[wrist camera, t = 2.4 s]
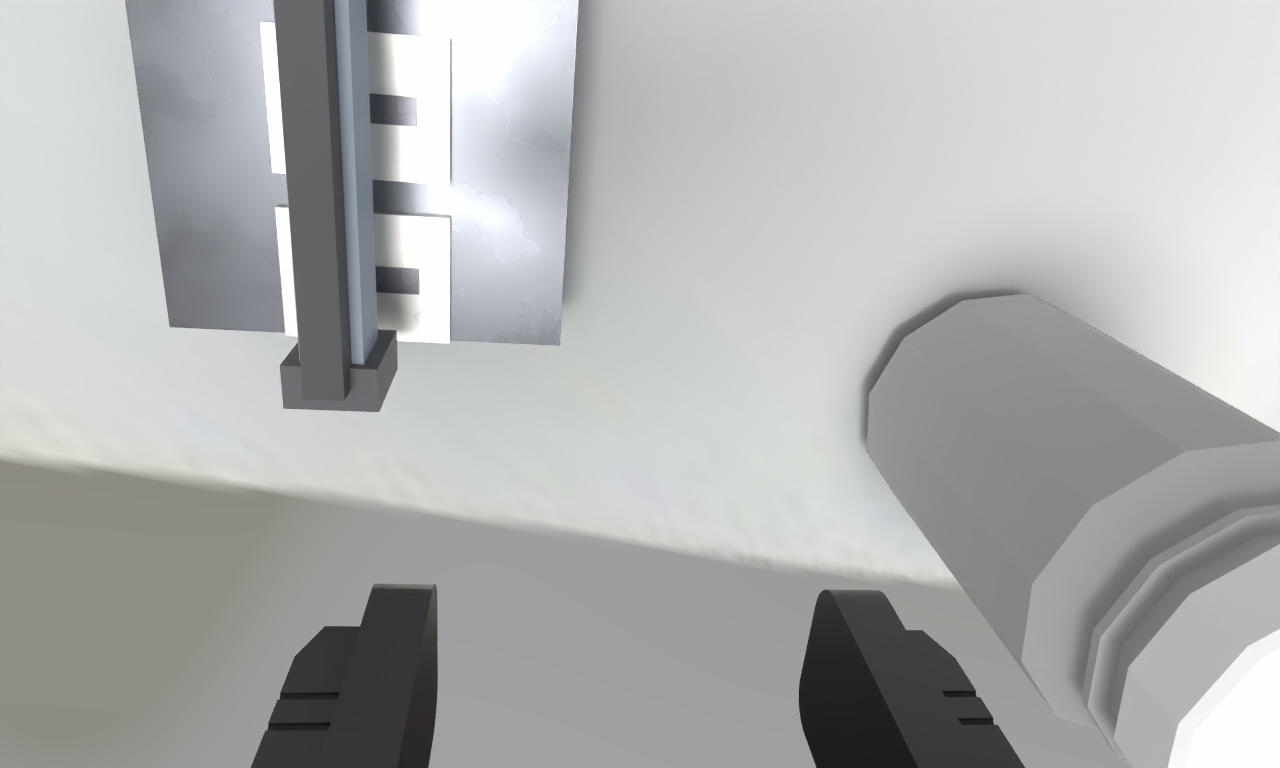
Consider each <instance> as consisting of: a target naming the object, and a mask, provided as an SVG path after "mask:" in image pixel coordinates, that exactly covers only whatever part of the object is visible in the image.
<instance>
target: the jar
mask: <svg viewBox="0 0 1280 768" xmlns="http://www.w3.org/2000/svg"><path fill="white" fill-rule="evenodd" d="M867 453H868V454H869V456H870V457H871V459H872V460H873V462H874V463H875V465H876V466H877V468H878V470H879V471H880V473H881V474H882V476H883V477H884V479H885V480H886V482H887V484H888V485H889V487H890V488H891V490H892V491H893V493H894V494H895V496H896V497H897V499H898V500H899V501H900V503H901V504H902V505H903V507H904V508H905V509H906V511H907V512H908V514H909V515H910V516H911V518H912V519H913V520H914V522H915V523H916V525H917V526H918V527H919V529H920V530H921V531H922V533H923V534H924V536H925V537H926V538H927V540H928V541H929V542H930V544H931V545H932V547H933V548H934V549H935V551H936V552H937V553H938V555H939V556H940V558H941V559H942V560H943V562H944V563H945V564H946V566H947V567H948V569H949V570H950V571H951V573H952V574H953V575H954V577H955V578H956V579H957V581H958V582H959V584H960V585H961V586H962V588H963V589H964V590H965V592H966V593H967V595H968V596H969V597H970V599H971V600H972V601H973V603H974V604H975V606H976V607H977V608H978V610H979V611H980V612H981V613H982V615H983V617H984V618H985V619H986V621H987V622H988V623H989V625H990V626H991V627H992V629H993V630H994V632H995V633H996V634H997V636H998V637H999V638H1000V640H1001V641H1002V643H1003V644H1004V645H1005V647H1006V648H1007V649H1008V651H1009V652H1010V654H1011V655H1012V656H1013V658H1014V659H1015V660H1016V662H1017V663H1018V665H1019V666H1020V667H1021V669H1022V670H1023V671H1024V673H1025V674H1026V675H1027V677H1028V678H1029V679H1030V681H1031V682H1032V684H1033V685H1034V687H1035V688H1036V689H1037V691H1038V692H1039V693H1040V695H1041V696H1042V697H1043V699H1044V700H1045V701H1046V703H1047V704H1048V706H1049V707H1050V708H1051V710H1052V711H1053V712H1054V714H1055V715H1056V716H1057V717H1060V718H1063V719H1066V720H1069V721H1072V722H1075V723H1078V724H1081V725H1084V726H1086V727H1089V728H1092V729H1095V730H1098V731H1101V733H1102V734H1103V736H1104V738H1105V739H1106V741H1107V743H1108V744H1109V746H1110V747H1111V749H1112V750H1113V752H1114V753H1115V754H1116V756H1117V757H1119V758H1122V759H1125V760H1127V762H1128V763H1129V765H1130V767H1131V768H1280V433H1279V432H1277V431H1275V430H1274V429H1272V428H1270V427H1268V426H1266V425H1265V424H1263V423H1261V422H1259V421H1258V420H1256V419H1254V418H1252V417H1251V416H1249V415H1247V414H1245V413H1244V412H1242V411H1240V410H1238V409H1236V408H1235V407H1233V406H1231V405H1229V404H1228V403H1226V402H1224V401H1222V400H1221V399H1219V398H1217V397H1215V396H1213V395H1212V394H1210V393H1208V392H1206V391H1205V390H1203V389H1201V388H1199V387H1198V386H1196V385H1194V384H1192V383H1191V382H1189V381H1187V380H1185V379H1183V378H1182V377H1180V376H1178V375H1176V374H1175V373H1173V372H1171V371H1169V370H1168V369H1166V368H1164V367H1162V366H1161V365H1159V364H1157V363H1155V362H1153V361H1152V360H1150V359H1148V358H1146V357H1145V356H1143V355H1141V354H1139V353H1138V352H1136V351H1134V350H1132V349H1131V348H1129V347H1127V346H1125V345H1123V344H1122V343H1120V342H1118V341H1116V340H1115V339H1113V338H1111V337H1109V336H1108V335H1106V334H1104V333H1102V332H1101V331H1099V330H1097V329H1095V328H1093V327H1092V326H1090V325H1088V324H1086V323H1085V322H1083V321H1081V320H1079V319H1077V318H1075V317H1073V316H1071V315H1069V314H1067V313H1065V312H1063V311H1061V310H1060V309H1058V308H1056V307H1054V306H1052V305H1050V304H1048V303H1046V302H1044V301H1042V300H1040V299H1038V298H1036V297H1034V296H1032V295H1030V294H1028V293H1027V294H1018V295H1008V296H998V297H989V298H979V299H969V300H962V301H961V302H959V303H957V304H956V305H954V306H953V307H951V308H950V309H948V310H946V311H945V312H943V313H942V314H940V315H939V316H937V317H935V318H934V319H932V320H931V321H929V322H928V323H926V324H925V325H923V326H921V327H920V328H918V329H917V330H915V331H914V332H912V333H910V334H909V335H907V336H906V337H904V338H903V340H902V341H901V343H900V345H899V346H898V348H897V350H896V351H895V353H894V354H893V356H892V358H891V359H890V361H889V362H888V364H887V366H886V367H885V369H884V370H883V372H882V374H881V375H880V377H879V379H878V380H877V382H876V383H875V385H874V387H873V388H872V390H871V391H870V393H869V406H868V430H867Z"/></svg>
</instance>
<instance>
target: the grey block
mask: <svg viewBox="0 0 1280 768" xmlns="http://www.w3.org/2000/svg"><path fill="white" fill-rule="evenodd" d="M125 2H126V10H127V17H128V24H129V31H130V39H131V46H132V53H133V61H134V68H135V75H136V83H137V90H138V97H139V105H140V112H141V119H142V127H143V134H144V141H145V149H146V156H147V163H148V171H149V178H150V185H151V193H152V200H153V207H154V215H155V222H156V229H157V237H158V244H159V251H160V259H161V266H162V273H163V281H164V288H165V295H166V303H167V310H168V317H169V325H170V327H179V328H201V329H222V330H243V331H264V332H285V336H298V334H297V321H296V307H295V294H294V280H293V267H292V253H291V240H290V226H289V213H288V199H287V186H286V172H285V159H284V145H283V132H282V118H281V105H280V91H279V78H278V65H277V51H276V38H275V24H274V11H273V0H125ZM578 3H579V0H366V12H367V41H368V69H369V98H370V127H371V155H372V184H373V213H374V241H375V270H376V299H377V327H378V329H381V330H397V341H405V342H427V343H448V344H450V340H456V341H477V342H498V343H519V344H541V345H560V332H561V314H562V295H563V277H564V259H565V241H566V222H567V204H568V186H569V168H570V149H571V131H572V113H573V94H574V76H575V58H576V40H577V21H578Z"/></svg>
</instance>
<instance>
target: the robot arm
mask: <svg viewBox="0 0 1280 768" xmlns="http://www.w3.org/2000/svg"><path fill="white" fill-rule="evenodd" d="M437 662H438V661H437V589H436V585H435V584H374V586H373V588H372V590H371V593H370V596H369V600H368V603H367V606H366V610H365V613H364V616H363V620H362V623H361V626H360V627H343V626H327V627H326V626H325V627H324V628H323V629H322V630H321V631H320V632H319V633H318V634H317V635H316V636H315V637H314V638H313V639H312V640H311V641H310V642H309V643H308V644H307V645H306V646H305V647H304V648H303V649H302V650H301V651H300V652H299V653H298V654H297V655H296V656H295V657H294V660H293V662H292V665H291V667H290V670H289V672H288V675H287V677H286V680H285V682H284V685H283V688H282V690H281V694H280V700H277V703H276V705H275V708H274V711H273V713H272V715H271V718H270V721H269V725H268V730H267V731H265V733H264V736H263V738H262V741H261V743H260V746H259V748H258V751H257V753H256V756H255V758H254V761H253V764H252V766H251V768H428V766H429V760H430V753H431V747H432V741H433V734H434V727H435V718H436V716H435V715H436V705H437V686H438V685H437V684H438V679H437V678H438V677H437V676H438V674H437V673H438V670H437V669H438V664H437ZM799 709H800V717H801V723H802V727H803V731H804V734H805V737H806V740H807V742H808V745H809V748H810V751H811V753H812V756H813V759H814V761H815V764H816V767H817V768H1025V767H1024V765H1023V764H1022V762H1021V761H1020V759H1019V758H1018V756H1017V754H1016V753H1015V751H1014V750H1013V748H1012V747H1011V745H1010V743H1009V742H1008V740H1007V739H1006V737H1005V736H1004V734H1003V732H1002V731H1001V729H1000V728H999V726H998V725H994V723H993V717H992V715H991V714H990V712H989V710H988V709H987V707H986V706H985V704H984V703H983V701H982V699H981V698H980V697H976V690H975V688H974V687H973V685H972V684H971V682H970V681H969V679H968V677H967V676H966V675H965V673H964V671H963V670H962V668H961V666H960V665H959V663H958V662H957V660H956V659H955V658H954V657H953V656H952V655H951V654H950V653H948V652H947V651H946V650H945V649H944V648H942V647H941V646H940V645H939V644H938V643H937V642H935V641H934V640H933V639H932V638H930V636H928V635H927V634H926V633H925V632H923V631H921V630H917V631H916V630H906V629H905V628H904V626H903V624H902V623H901V621H900V619H899V617H898V616H897V614H896V612H895V610H894V609H893V607H892V605H891V604H890V602H889V600H888V599H887V597H886V596H885V594H884V593H883V592H881V591H878V590H823V591H822V592H821V593H820V594H819V596H818V599H817V602H816V606H815V611H814V615H813V620H812V625H811V630H810V635H809V639H808V644H807V649H806V654H805V659H804V664H803V668H802V673H801V678H800V684H799Z"/></svg>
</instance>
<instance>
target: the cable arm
mask: <svg viewBox="0 0 1280 768" xmlns="http://www.w3.org/2000/svg"><path fill="white" fill-rule="evenodd" d="M273 11H274V24H275V38H276V51H277V65H278V78H279V91H280V105H281V118H282V132H283V145H284V159H285V172H286V186H287V199H288V213H289V226H290V240H291V253H292V267H293V280H294V294H295V307H296V321H297V334H298V343H297V344H296V345H295V347H294V348H293V349H292V351H291V352H290V353H289V354H288V356H287V357H286V358H285V360H284V361H283V362H282V364H281V365H280V372H281V384H282V396H283V408H284V409H311V410H339V411H367V412H379V411H380V408H381V406H382V404H383V401H384V399H385V397H386V394H387V392H388V390H389V387H390V385H391V383H392V380H393V378H394V376H395V373H396V371H397V369H398V368H397V330H381V329H378V327H377V299H376V270H375V241H374V213H373V184H372V155H371V127H370V98H369V69H368V41H367V12H366V0H273Z"/></svg>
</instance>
